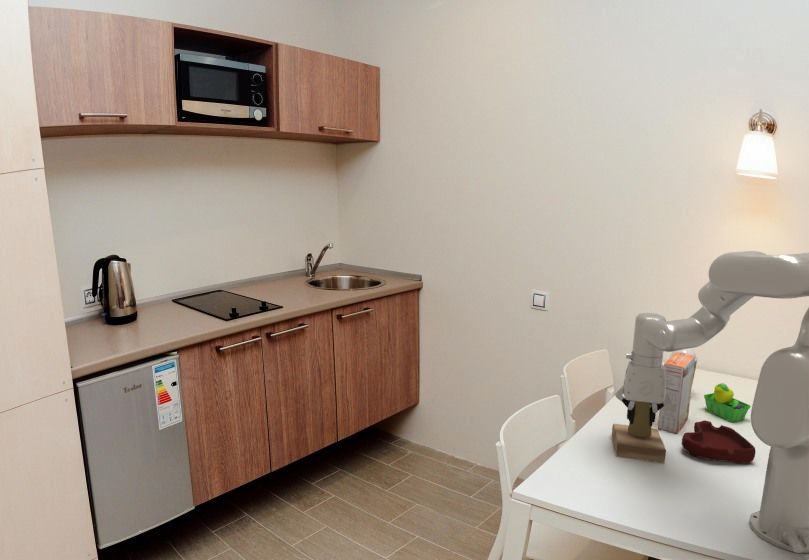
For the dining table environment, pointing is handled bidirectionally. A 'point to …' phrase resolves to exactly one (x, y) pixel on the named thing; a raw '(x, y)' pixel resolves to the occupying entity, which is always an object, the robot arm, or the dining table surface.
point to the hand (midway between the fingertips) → (640, 422)
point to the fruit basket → (725, 404)
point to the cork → (641, 420)
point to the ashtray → (717, 443)
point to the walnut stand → (638, 444)
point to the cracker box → (677, 392)
